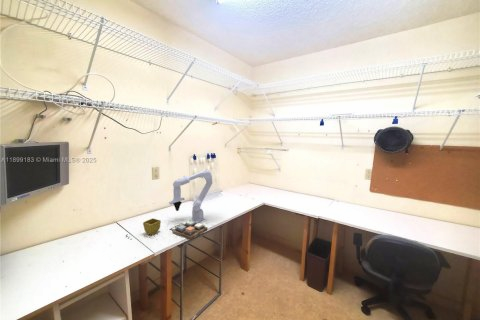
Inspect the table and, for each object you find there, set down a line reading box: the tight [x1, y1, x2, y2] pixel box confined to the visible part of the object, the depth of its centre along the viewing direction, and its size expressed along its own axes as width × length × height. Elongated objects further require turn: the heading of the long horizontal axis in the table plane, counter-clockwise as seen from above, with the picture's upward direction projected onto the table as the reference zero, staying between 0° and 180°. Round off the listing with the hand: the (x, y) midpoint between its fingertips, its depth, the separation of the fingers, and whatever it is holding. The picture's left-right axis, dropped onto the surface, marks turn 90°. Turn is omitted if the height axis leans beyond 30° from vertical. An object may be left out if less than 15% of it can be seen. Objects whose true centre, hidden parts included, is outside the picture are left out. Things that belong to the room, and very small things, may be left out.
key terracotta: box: [186, 226, 195, 233], centre depth 141 cm, size 4×4×2 cm
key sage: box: [185, 220, 195, 226], centre depth 153 cm, size 4×4×2 cm
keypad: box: [171, 223, 208, 241], centre depth 147 cm, size 18×18×4 cm
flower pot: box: [142, 218, 162, 236], centre depth 143 cm, size 9×9×9 cm
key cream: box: [194, 222, 204, 228], centre depth 149 cm, size 4×4×2 cm
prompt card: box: [169, 222, 185, 231], centre depth 154 cm, size 12×4×1 cm, turn 151°
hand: (177, 210), depth 163 cm, fingers closed
